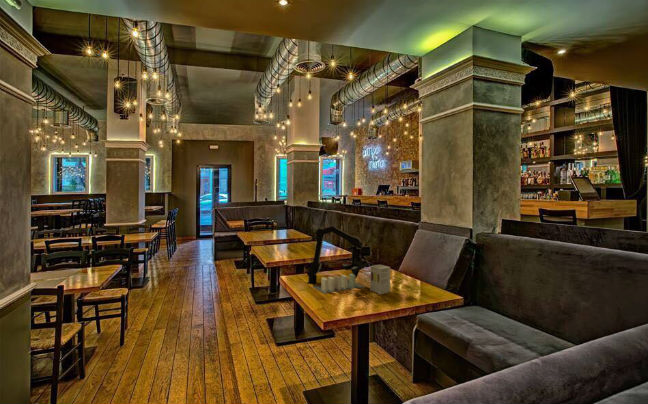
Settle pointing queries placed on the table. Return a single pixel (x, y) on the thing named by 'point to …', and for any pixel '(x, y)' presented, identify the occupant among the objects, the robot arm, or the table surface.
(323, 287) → the domino
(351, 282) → the domino
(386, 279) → the supplement box
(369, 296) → the table surface
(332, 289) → the domino
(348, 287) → the mat
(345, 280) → the domino
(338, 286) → the domino
